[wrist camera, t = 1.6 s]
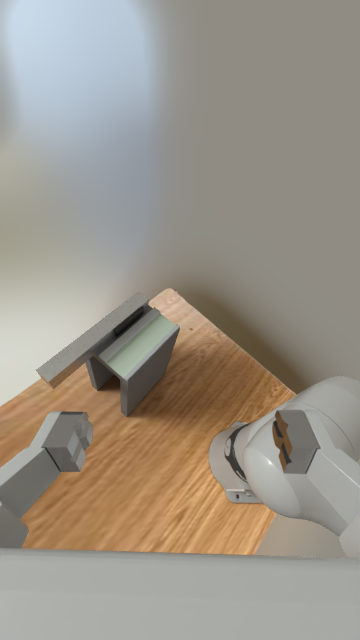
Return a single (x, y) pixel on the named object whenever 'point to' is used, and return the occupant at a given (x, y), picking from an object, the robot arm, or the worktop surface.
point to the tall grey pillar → (135, 358)
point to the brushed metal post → (92, 341)
